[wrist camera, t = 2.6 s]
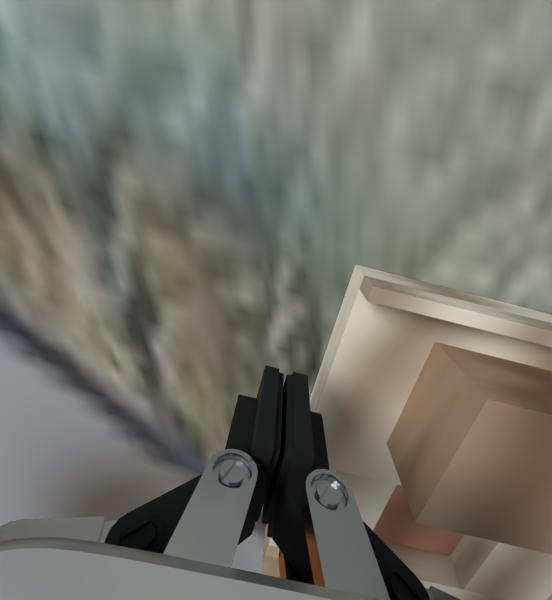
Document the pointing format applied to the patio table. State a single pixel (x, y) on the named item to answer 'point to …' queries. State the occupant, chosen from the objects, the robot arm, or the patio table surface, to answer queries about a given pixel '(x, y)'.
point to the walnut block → (478, 448)
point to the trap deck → (388, 406)
